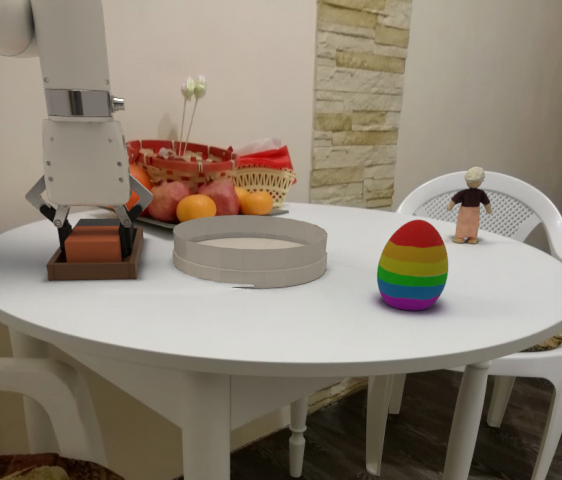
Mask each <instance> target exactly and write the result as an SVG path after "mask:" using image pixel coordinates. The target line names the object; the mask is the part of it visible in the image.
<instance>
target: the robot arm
mask: <svg viewBox="0 0 562 480" xmlns="http://www.w3.org/2000/svg"><path fill="white" fill-rule="evenodd" d="M0 56H2V57H9V58H15V59H30V58H39V66H40V72H41V79H42V86H43V92H44V99H45V107H46V113H47V118H44V119H42V127H41V129H42V131H41V136H42V137H41V146H42V147H41V148H42V163H43V175H42V176H41V177H40V178H39V179H38V181H36V183H34V185H33V186H32V187H31V188H30V189H29V190H28V191H27V192H26V193H25V195H24V196H25V197H24V198H25V200H26V201H27V202H28V203H29V204H31V206H32V207H34V208H35V209H37V210H38V211H39V212H40V214H41V215H42V216H44V217H45V218H46V219H47V220H48V221H50V222H51V223H52V224H53V226H54V228H56V229H57V235H58V242H59V247H60V249H61V251H65V253H66V250H65V243H64V242H65V240H66V239H67V238H68V236H69V235H70V234H71V232H72V229H73V225H72V224H71V223H70V222H69V219H68V217H69V214H70V212H71V207H112V209H113V211H114V212H115V214H116V216H117V219H119V220H120V226H119V228H118V231H119V236H120V245H121V254H122V257H123V258H127V255H128V250H132V236H131V224H132V223H135V221H136V220H137V219H138V218H139V217H140V216H141V214H142V213H143V212H144V210H146V209H147V208H148V207H149V205H150V204H151V203H152V201H154V194H153V193H152V192H151V191H150V190H149V189H148V188H147V187H146V186H145V185H143V184H142V183H141V182H140V181H139V180H138V179H137V178H136V177H134V175H133V174H131V167H130V161H129V160H130V159H129V153H128V148H127V143H126V137H125V134H124V130H123V125H122V123H121V120H115V119H114V116H115V113H116V112H119V111H125V110H126V106H125V105H126V104H125V98H123V97H118V96H115V95H114V94H113V92H112V90H111V89H112V87H111V78H110V69H109V68H110V67H109V58H108V57H109V56H108V48H107V38H106V25H105V17H104V7H103V0H0ZM44 192H46V196H47V199H48V200H49V202H50V203H52V204H54V205H57V207H56V208H55V207H54V206H52V205H51V204H50V203H48V202H47V201H46V200H45V199H44V197H43V196H42V195H43V194H44ZM133 192H134V193H135V194H136V195H137V196H138V197H139V199H138V200H137V202H136V203H134V204H133V206H132V207H130V209H129V208H128V207H127V205H126V204H127V203H128V202H130V199H131V197H132V195H133ZM66 258H67V257H66Z"/></svg>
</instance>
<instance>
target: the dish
mask: <svg viewBox="0 0 562 480" xmlns="http://www.w3.org/2000/svg"><path fill="white" fill-rule="evenodd" d="M172 236H173V238H172V239H173V249H172V262H173V265H174V266H175V267H176V268H175V269H177V270H178V271H180V272H182V273H184V274H186V275H188V276H191V277H195V278H198V279H202V280H207V281H211V282H216V283H225V284H235V285H253V286H233V288H236V289H277V288H287V287H292V286H297V285H303V284H307V283H311V282H312V281H316V280H318V279H319V278H321V277H322V276H324V275H325V273H326V271H327V270H326V269H327V264H328V252H327V243H328V232H327V230H326V229H325V228H323V227H321V226H319V225H318V224H314V223H311V222H308V221H304V220H299V219H294V218H289V217H281V216H269V215H256V214H255V215H254V214H253V215H251V214H231V215H229V214H228V215H214V216H204V217H198V218H193V219H189V220H186V221H183V222H180V223H178V224H177V225H175V226H174V227H173V230H172Z"/></svg>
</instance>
